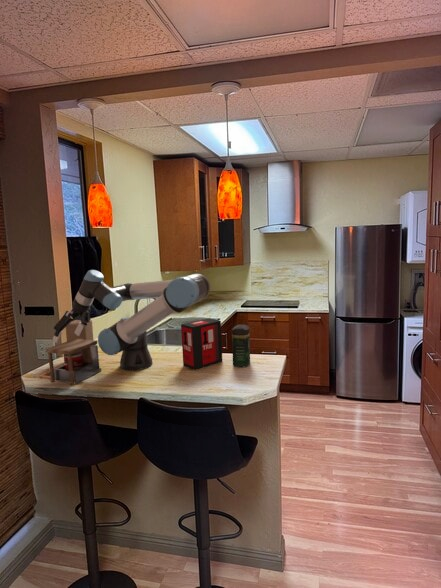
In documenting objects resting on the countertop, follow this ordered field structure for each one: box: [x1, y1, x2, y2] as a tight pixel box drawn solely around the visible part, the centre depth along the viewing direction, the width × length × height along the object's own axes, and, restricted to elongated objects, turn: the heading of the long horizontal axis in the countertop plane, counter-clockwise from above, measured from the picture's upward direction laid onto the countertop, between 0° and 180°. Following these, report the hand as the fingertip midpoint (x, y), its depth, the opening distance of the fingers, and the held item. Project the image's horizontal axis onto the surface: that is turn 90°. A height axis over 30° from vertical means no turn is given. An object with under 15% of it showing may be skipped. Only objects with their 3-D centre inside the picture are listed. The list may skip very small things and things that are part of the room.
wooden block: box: [65, 319, 94, 342], centre depth 199 cm, size 10×10×20 cm
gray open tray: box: [54, 344, 102, 384], centre depth 174 cm, size 20×12×15 cm, turn 67°
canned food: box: [63, 351, 84, 371], centre depth 176 cm, size 8×8×11 cm
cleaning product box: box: [180, 317, 223, 371], centre depth 186 cm, size 16×9×20 cm, turn 131°
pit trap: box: [38, 370, 51, 380], centre depth 182 cm, size 10×11×1 cm
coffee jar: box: [231, 324, 251, 369], centre depth 183 cm, size 10×8×19 cm
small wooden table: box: [45, 339, 98, 386], centre depth 176 cm, size 13×17×15 cm
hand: (66, 337), depth 186 cm, fingers open, 13 cm apart
